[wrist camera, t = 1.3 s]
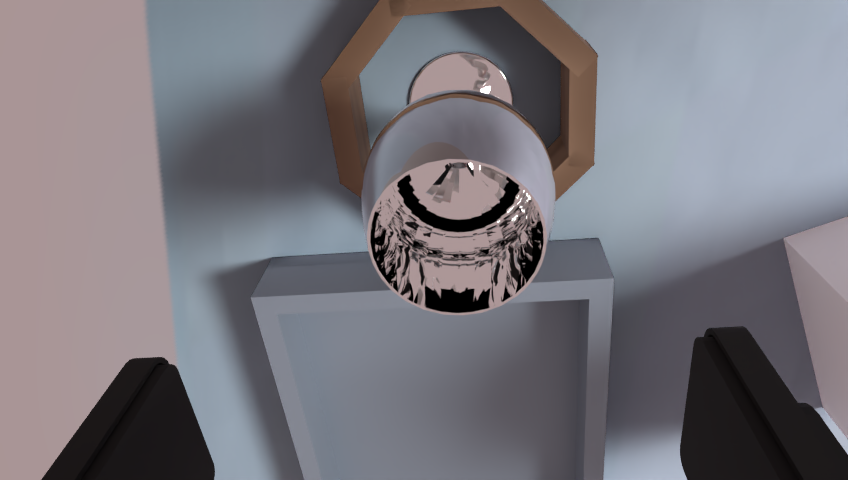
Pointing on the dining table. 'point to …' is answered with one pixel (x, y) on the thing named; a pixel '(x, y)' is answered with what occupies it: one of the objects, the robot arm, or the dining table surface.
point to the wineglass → (458, 191)
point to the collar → (521, 3)
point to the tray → (441, 372)
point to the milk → (824, 308)
